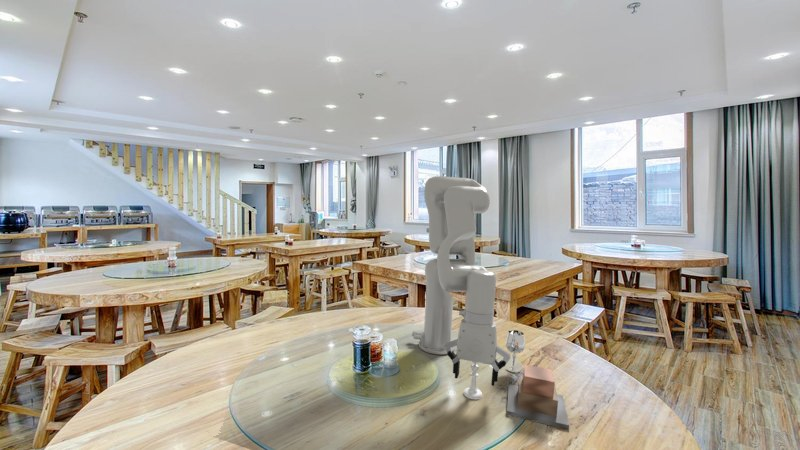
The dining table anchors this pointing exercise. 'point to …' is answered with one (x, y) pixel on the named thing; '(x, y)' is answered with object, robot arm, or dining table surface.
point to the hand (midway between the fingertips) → (474, 379)
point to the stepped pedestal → (537, 398)
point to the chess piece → (473, 384)
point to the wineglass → (515, 343)
